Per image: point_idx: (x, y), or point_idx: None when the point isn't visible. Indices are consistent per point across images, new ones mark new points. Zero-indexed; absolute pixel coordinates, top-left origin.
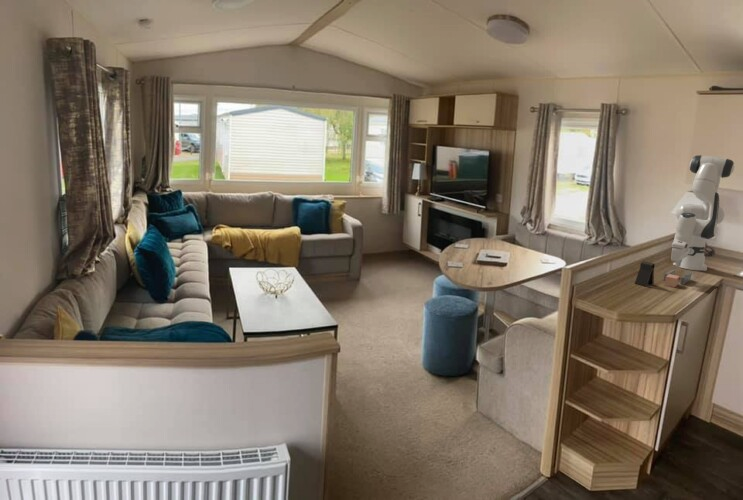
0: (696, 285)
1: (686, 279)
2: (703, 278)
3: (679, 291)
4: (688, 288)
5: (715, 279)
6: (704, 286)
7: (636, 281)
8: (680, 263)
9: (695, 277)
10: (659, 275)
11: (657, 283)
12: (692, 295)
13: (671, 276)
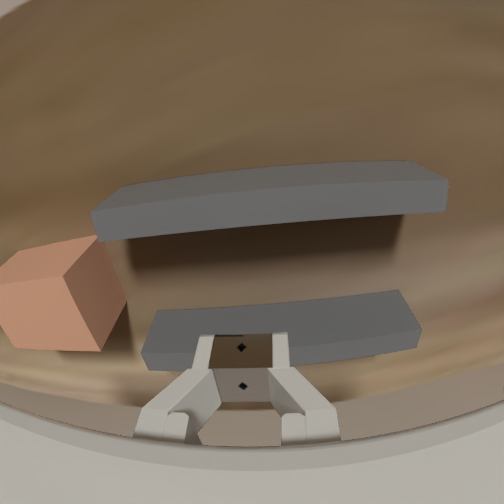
0: None
1: None
2: (491, 327)
3: None
4: (112, 362)
5: (499, 358)
6: None
7: None
8: (272, 402)
9: (490, 295)
10: (316, 68)
11: (7, 204)
12: (31, 383)
13: (19, 313)
